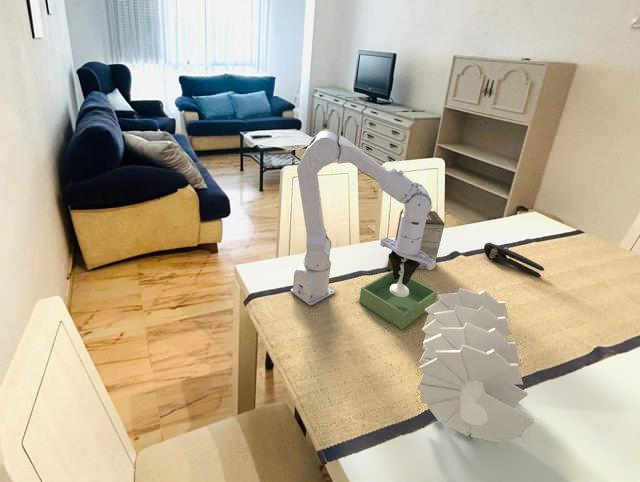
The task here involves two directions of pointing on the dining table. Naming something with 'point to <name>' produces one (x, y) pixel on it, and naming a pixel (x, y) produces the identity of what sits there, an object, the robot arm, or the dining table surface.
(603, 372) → the dining table surface
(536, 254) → the dining table surface
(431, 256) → the coffee box
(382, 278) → the basket
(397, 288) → the chess piece
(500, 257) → the can opener
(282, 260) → the dining table surface
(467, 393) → the spiral staircase
